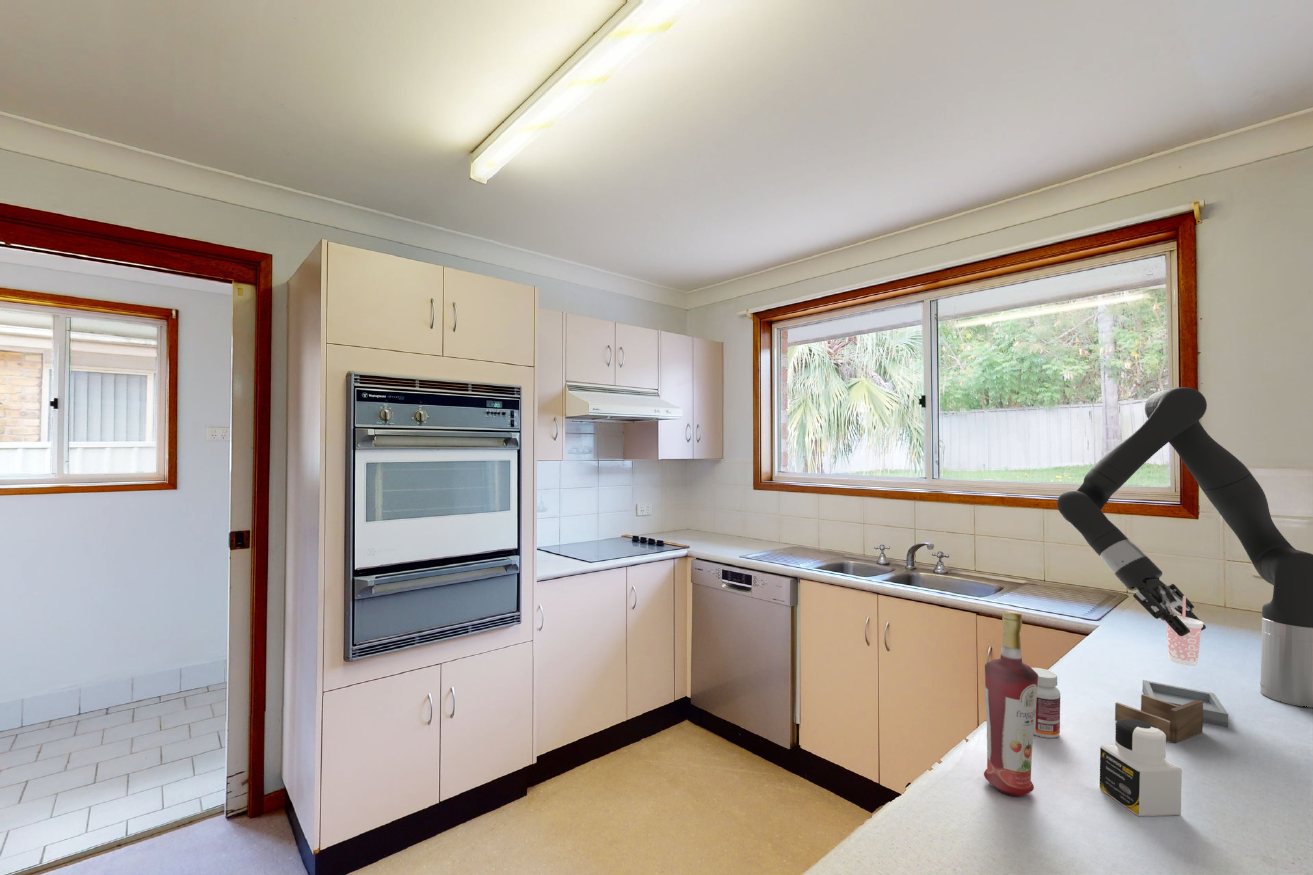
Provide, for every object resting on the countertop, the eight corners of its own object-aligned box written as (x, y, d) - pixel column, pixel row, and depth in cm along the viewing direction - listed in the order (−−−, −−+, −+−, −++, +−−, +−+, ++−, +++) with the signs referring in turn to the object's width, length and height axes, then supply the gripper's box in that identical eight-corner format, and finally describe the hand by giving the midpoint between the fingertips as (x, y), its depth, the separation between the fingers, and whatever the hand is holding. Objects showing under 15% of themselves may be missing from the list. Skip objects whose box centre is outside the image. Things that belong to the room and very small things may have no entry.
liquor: (1014, 806, 90) (1018, 621, 90) (971, 780, 96) (975, 608, 96) (1046, 796, 92) (1050, 617, 93) (1002, 771, 99) (1006, 604, 99)
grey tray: (1214, 705, 127) (1214, 693, 127) (1228, 726, 117) (1228, 714, 117) (1142, 690, 134) (1142, 679, 134) (1149, 710, 124) (1150, 698, 124)
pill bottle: (1065, 733, 113) (1066, 674, 113) (1050, 742, 109) (1052, 681, 110) (1030, 720, 118) (1032, 663, 118) (1015, 728, 115) (1016, 669, 115)
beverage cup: (1171, 664, 124) (1173, 597, 124) (1158, 654, 130) (1160, 590, 130) (1208, 669, 122) (1210, 601, 122) (1193, 658, 128) (1195, 594, 128)
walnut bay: (1202, 731, 115) (1203, 701, 115) (1174, 743, 110) (1175, 710, 110) (1142, 710, 124) (1143, 681, 124) (1115, 720, 119) (1115, 690, 119)
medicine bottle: (1098, 788, 95) (1099, 714, 95) (1139, 787, 95) (1141, 713, 95) (1138, 817, 88) (1139, 736, 88) (1182, 815, 88) (1184, 735, 88)
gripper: (1126, 557, 129) (1193, 627, 119) (1160, 552, 136) (1226, 619, 125) (1098, 576, 134) (1160, 645, 123) (1132, 571, 140) (1194, 636, 130)
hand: (1193, 632), depth 124 cm, fingers closed on beverage cup, 6 cm apart
